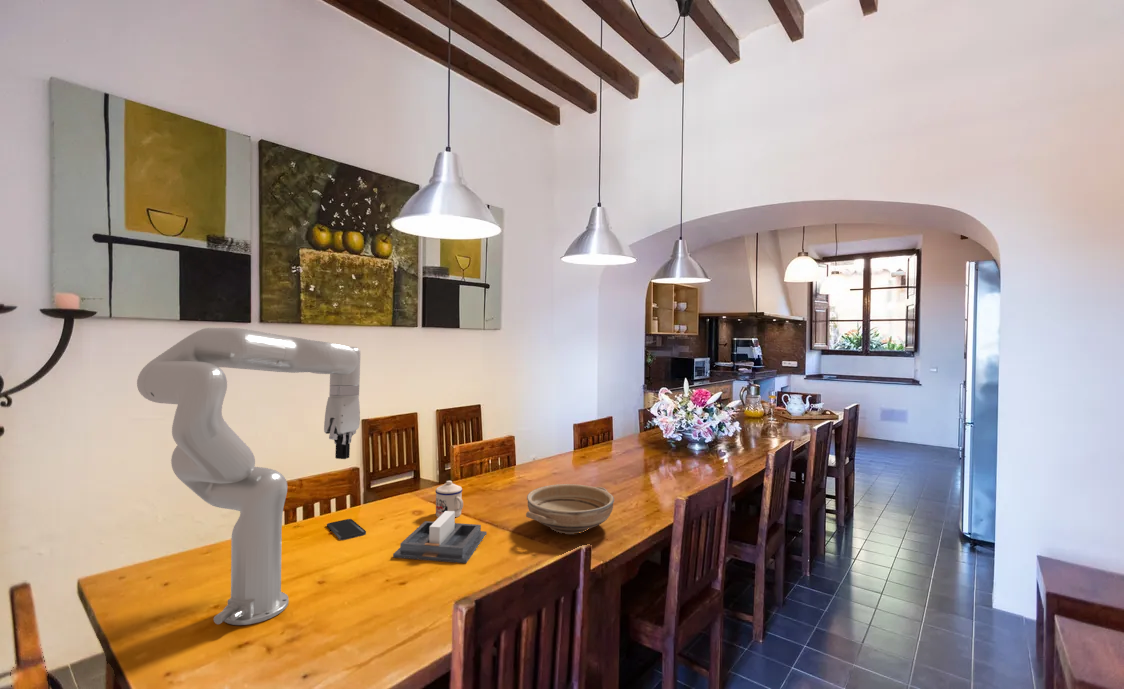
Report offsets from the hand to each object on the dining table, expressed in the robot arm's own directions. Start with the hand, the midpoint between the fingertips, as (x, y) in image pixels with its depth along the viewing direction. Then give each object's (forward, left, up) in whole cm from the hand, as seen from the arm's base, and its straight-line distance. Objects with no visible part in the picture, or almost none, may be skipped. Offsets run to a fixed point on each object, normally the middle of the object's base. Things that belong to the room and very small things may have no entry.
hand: (342, 458), depth 137 cm
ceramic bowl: (+34, -59, -28) cm, 74 cm away
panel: (+13, -24, -27) cm, 38 cm away
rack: (+13, -24, -28) cm, 39 cm away
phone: (+19, +10, -28) cm, 36 cm away
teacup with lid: (+37, -18, -28) cm, 50 cm away
